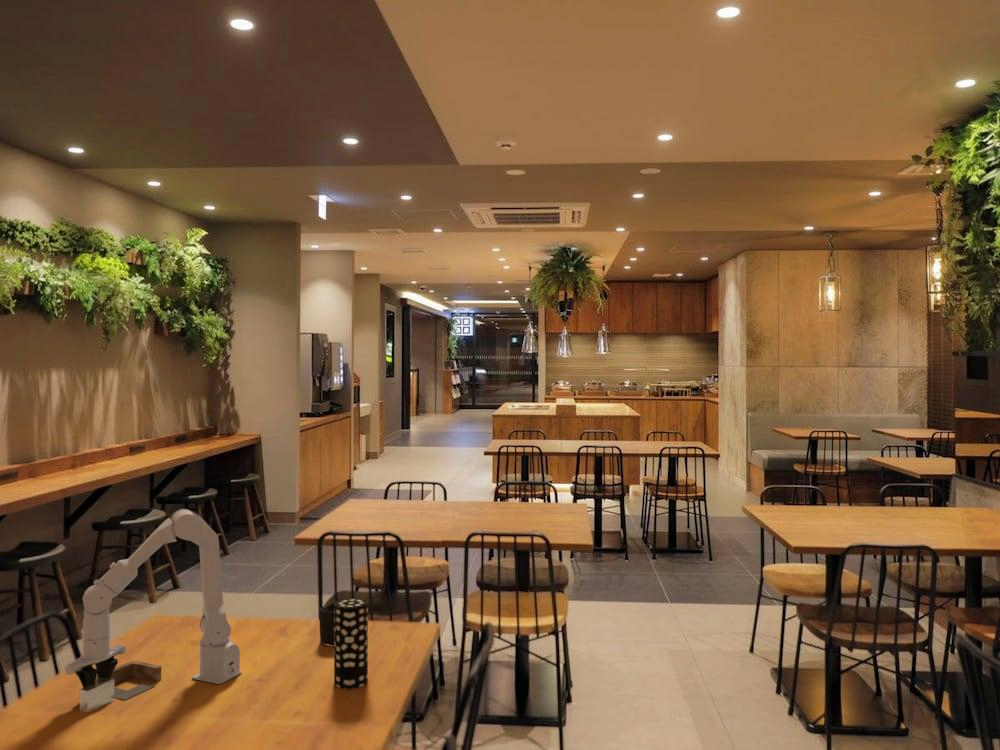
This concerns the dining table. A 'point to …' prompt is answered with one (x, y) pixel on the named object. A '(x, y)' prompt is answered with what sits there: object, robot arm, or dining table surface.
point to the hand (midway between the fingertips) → (96, 693)
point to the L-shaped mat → (131, 691)
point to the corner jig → (136, 672)
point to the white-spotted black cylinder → (350, 643)
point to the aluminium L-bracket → (97, 694)
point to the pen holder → (327, 624)
